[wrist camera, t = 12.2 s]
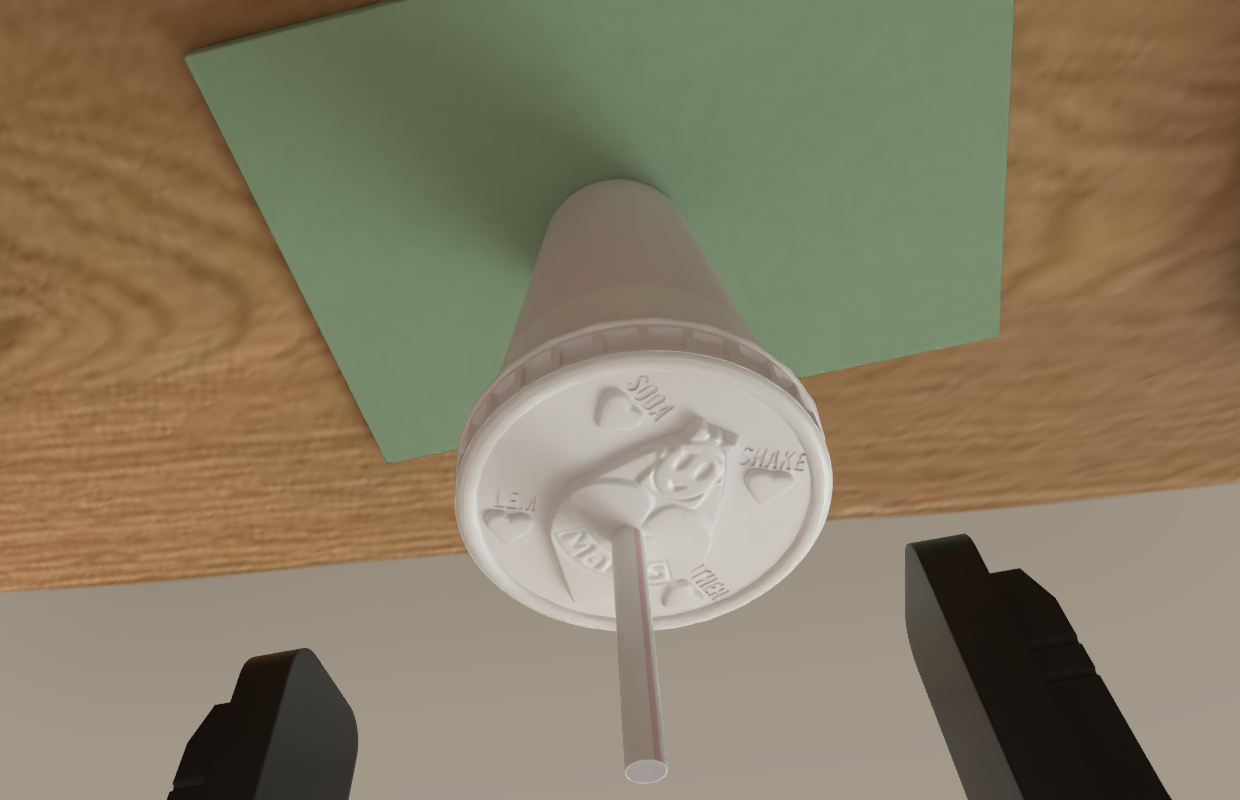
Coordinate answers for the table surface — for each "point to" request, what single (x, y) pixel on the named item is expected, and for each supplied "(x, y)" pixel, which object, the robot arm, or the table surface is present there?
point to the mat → (622, 171)
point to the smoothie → (637, 446)
